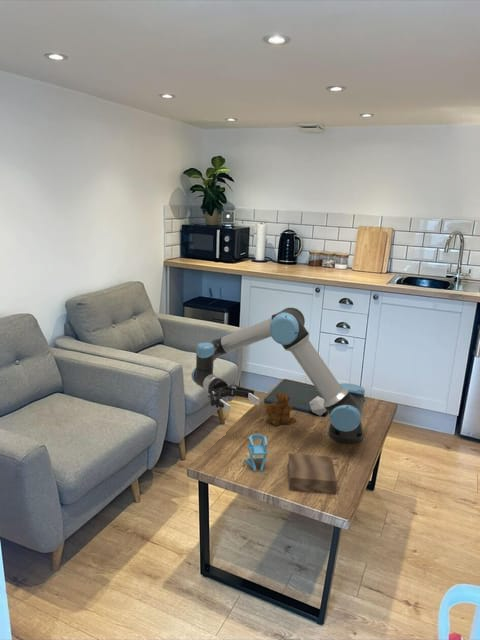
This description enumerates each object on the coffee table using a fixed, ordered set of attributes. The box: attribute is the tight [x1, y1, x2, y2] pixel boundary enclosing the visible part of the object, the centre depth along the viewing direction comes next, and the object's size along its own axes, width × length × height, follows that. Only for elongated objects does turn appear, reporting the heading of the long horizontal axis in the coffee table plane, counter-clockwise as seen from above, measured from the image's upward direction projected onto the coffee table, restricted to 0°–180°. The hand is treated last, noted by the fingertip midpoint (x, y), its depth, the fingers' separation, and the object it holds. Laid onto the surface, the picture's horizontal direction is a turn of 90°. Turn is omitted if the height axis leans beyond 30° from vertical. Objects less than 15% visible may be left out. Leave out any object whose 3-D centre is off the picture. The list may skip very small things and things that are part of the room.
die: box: [309, 395, 328, 417], centre depth 223 cm, size 8×9×10 cm
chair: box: [244, 433, 269, 472], centre depth 176 cm, size 8×8×12 cm
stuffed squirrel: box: [264, 392, 297, 427], centre depth 212 cm, size 10×14×13 cm
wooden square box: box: [287, 453, 338, 495], centre depth 169 cm, size 16×16×5 cm
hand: (244, 405), depth 180 cm, fingers open, 13 cm apart
